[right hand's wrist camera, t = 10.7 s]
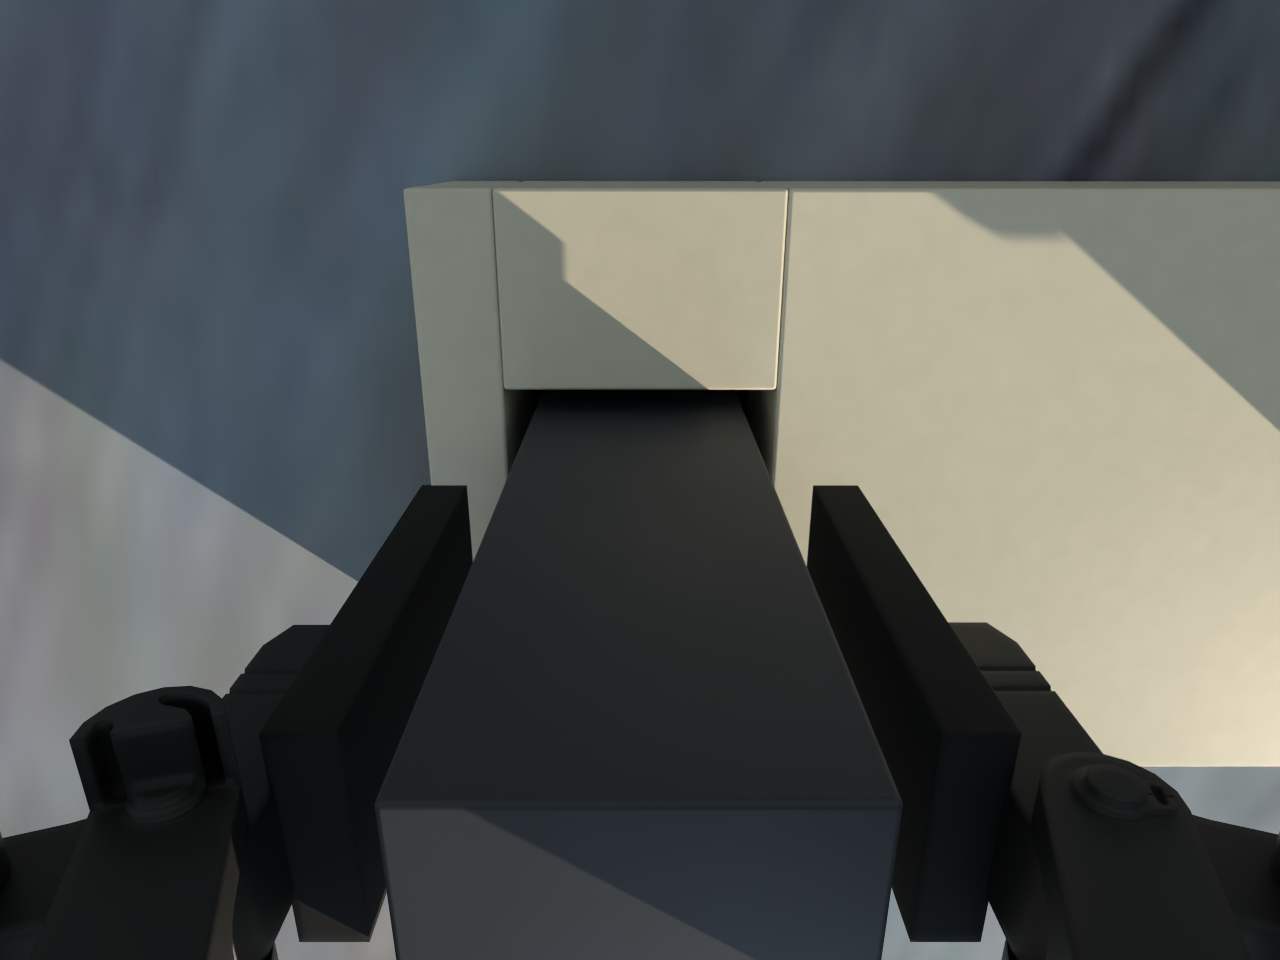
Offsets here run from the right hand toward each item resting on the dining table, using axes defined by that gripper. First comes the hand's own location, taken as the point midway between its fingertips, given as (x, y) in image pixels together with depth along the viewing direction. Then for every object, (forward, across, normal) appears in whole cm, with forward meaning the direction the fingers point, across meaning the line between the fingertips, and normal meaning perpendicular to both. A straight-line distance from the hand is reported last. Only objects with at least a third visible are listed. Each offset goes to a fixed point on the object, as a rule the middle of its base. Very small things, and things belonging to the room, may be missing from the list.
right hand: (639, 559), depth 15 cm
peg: (+6, 0, 0) cm, 6 cm away
